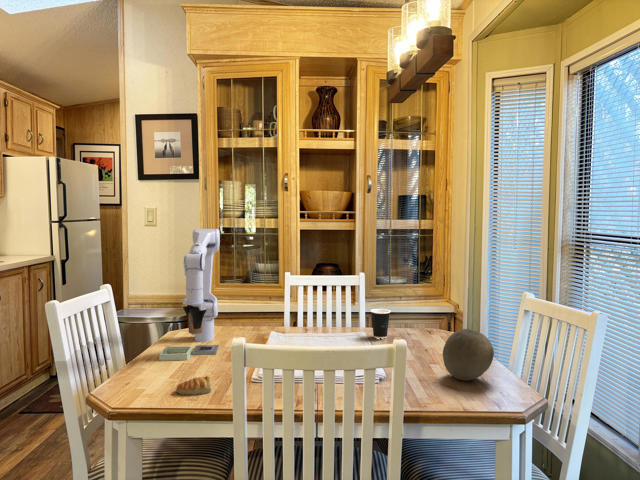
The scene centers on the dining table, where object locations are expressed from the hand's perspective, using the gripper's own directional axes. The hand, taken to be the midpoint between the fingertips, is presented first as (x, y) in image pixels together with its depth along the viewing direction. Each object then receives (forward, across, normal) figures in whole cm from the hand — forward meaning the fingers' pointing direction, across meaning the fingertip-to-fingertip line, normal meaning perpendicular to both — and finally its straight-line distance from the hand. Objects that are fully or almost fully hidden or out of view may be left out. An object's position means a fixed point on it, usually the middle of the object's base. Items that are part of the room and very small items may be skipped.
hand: (194, 327), depth 160 cm
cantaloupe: (+10, +71, +56) cm, 91 cm away
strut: (+2, 0, 0) cm, 2 cm away
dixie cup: (+10, +22, +68) cm, 73 cm away
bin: (+10, 0, -6) cm, 12 cm away
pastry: (+10, +30, -12) cm, 35 cm away
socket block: (+10, 0, +4) cm, 11 cm away
